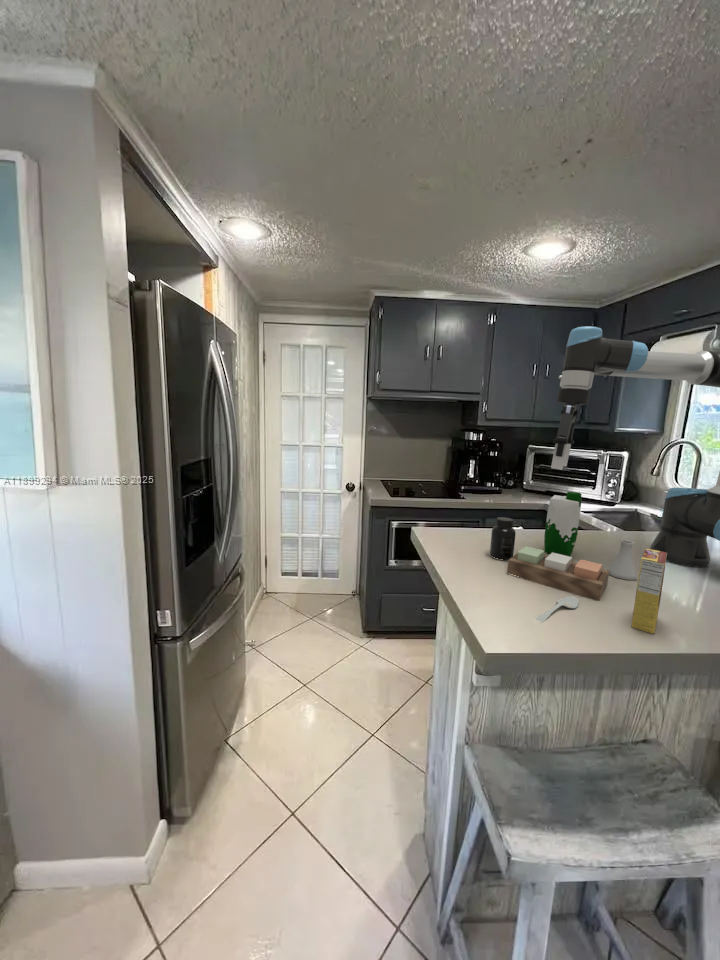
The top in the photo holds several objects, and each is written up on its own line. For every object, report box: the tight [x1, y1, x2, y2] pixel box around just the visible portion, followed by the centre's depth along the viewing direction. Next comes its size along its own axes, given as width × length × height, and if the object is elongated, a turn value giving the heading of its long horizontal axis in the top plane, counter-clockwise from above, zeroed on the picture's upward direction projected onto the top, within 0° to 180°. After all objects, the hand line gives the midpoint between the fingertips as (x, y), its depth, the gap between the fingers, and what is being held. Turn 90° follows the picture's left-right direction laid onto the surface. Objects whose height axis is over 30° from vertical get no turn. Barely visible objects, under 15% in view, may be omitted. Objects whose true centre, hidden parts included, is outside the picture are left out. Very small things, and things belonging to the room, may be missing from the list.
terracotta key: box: [574, 559, 603, 581], centre depth 100 cm, size 5×7×4 cm
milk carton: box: [543, 491, 582, 557], centre depth 125 cm, size 9×9×20 cm
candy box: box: [630, 548, 667, 635], centre depth 83 cm, size 9×4×15 cm, turn 140°
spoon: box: [535, 595, 580, 623], centre depth 87 cm, size 4×21×2 cm, turn 127°
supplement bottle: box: [489, 516, 517, 561], centre depth 119 cm, size 7×7×12 cm
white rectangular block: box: [544, 552, 573, 572], centre depth 104 cm, size 5×7×4 cm
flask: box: [606, 539, 638, 581], centre depth 109 cm, size 7×7×10 cm
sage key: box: [517, 545, 545, 564], centre depth 109 cm, size 5×7×4 cm
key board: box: [506, 552, 610, 601], centre depth 105 cm, size 22×12×4 cm, turn 50°
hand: (559, 467), depth 108 cm, fingers open, 13 cm apart
